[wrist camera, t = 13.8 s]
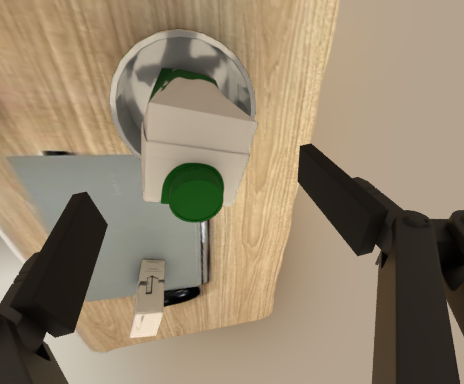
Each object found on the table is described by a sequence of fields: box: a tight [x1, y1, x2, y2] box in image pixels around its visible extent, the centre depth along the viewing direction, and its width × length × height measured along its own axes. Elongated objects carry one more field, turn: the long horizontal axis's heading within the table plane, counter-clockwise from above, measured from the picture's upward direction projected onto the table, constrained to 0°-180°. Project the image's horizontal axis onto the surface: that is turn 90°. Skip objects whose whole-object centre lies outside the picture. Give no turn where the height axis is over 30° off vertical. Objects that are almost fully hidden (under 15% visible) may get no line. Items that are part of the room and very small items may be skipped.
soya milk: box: [141, 68, 258, 222], centre depth 24 cm, size 9×9×20 cm
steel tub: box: [109, 29, 256, 160], centre depth 29 cm, size 16×16×7 cm
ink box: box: [130, 259, 165, 338], centre depth 46 cm, size 9×5×12 cm, turn 160°
